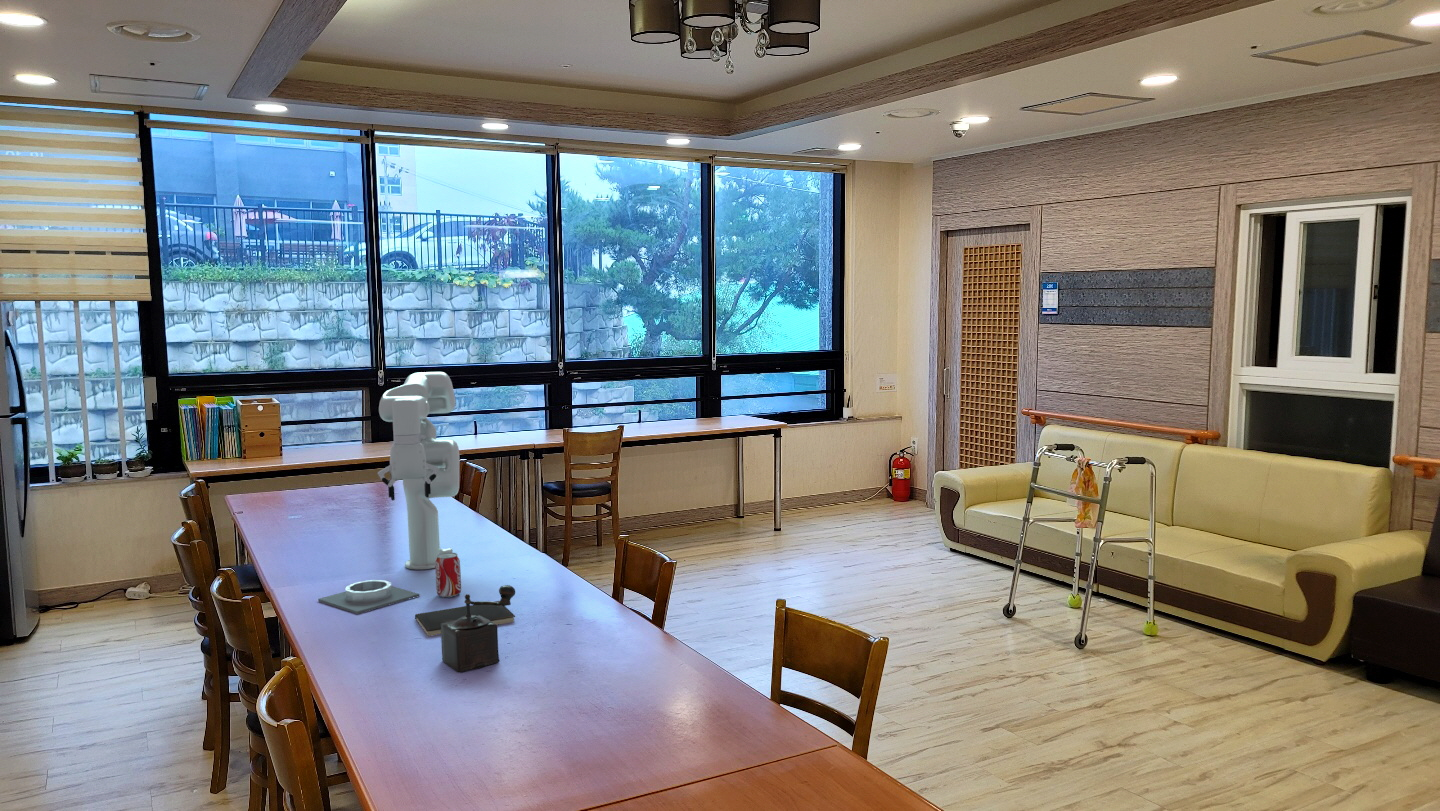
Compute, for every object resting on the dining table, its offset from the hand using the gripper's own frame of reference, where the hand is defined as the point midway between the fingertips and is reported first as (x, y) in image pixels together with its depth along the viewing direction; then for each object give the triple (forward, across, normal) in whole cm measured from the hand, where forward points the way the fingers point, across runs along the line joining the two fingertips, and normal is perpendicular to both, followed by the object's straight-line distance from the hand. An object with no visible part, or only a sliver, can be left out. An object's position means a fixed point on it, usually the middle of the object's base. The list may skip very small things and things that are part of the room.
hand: (409, 498), depth 293 cm
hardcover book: (+30, -9, +34) cm, 46 cm away
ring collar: (+28, +13, +1) cm, 31 cm away
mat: (+28, +13, +1) cm, 31 cm away
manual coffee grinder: (+30, -7, +65) cm, 72 cm away
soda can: (+28, -9, +8) cm, 31 cm away
